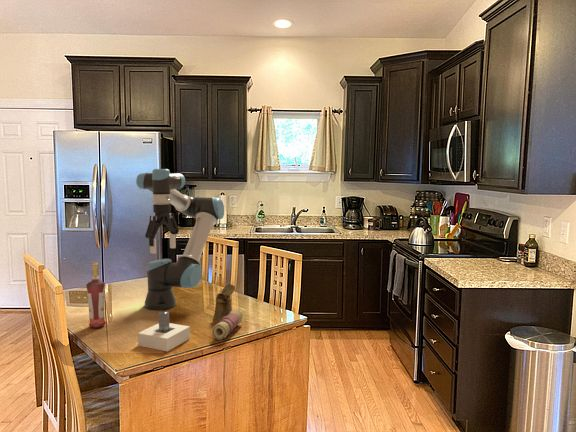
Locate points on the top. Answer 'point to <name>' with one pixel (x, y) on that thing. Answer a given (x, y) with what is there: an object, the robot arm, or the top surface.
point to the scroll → (227, 324)
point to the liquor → (96, 299)
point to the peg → (164, 322)
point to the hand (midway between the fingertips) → (163, 250)
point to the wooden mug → (223, 303)
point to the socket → (164, 337)
